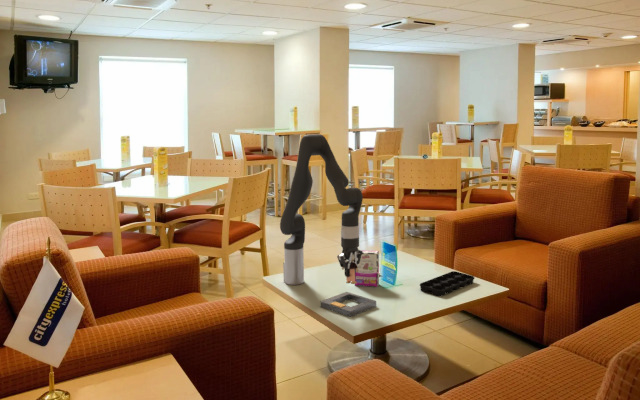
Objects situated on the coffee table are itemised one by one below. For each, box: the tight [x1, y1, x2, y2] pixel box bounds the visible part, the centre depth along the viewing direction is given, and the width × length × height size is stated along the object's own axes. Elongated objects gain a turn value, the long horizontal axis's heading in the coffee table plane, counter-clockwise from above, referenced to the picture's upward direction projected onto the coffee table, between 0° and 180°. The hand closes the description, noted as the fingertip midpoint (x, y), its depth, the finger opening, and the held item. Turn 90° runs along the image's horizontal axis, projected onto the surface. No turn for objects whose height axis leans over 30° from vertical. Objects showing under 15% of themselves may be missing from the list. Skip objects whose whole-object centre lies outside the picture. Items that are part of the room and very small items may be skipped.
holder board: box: [319, 291, 377, 318], centre depth 231 cm, size 17×16×3 cm
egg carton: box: [419, 270, 475, 297], centre depth 255 cm, size 18×30×4 cm, turn 145°
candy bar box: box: [354, 249, 380, 288], centre depth 258 cm, size 11×5×16 cm, turn 76°
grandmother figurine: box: [341, 254, 359, 285], centre depth 230 cm, size 8×4×13 cm, turn 74°
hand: (350, 275), depth 230 cm, fingers closed on grandmother figurine, 3 cm apart
